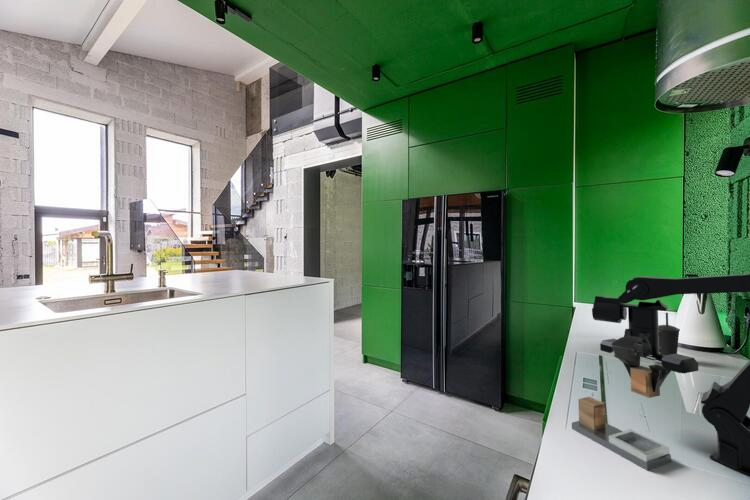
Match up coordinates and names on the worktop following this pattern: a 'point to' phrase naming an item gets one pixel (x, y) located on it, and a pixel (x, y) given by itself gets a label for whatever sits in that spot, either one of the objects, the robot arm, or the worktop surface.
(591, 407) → the brown wooden block
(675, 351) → the drinking cup
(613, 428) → the grey base plate
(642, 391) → the tan wooden block
